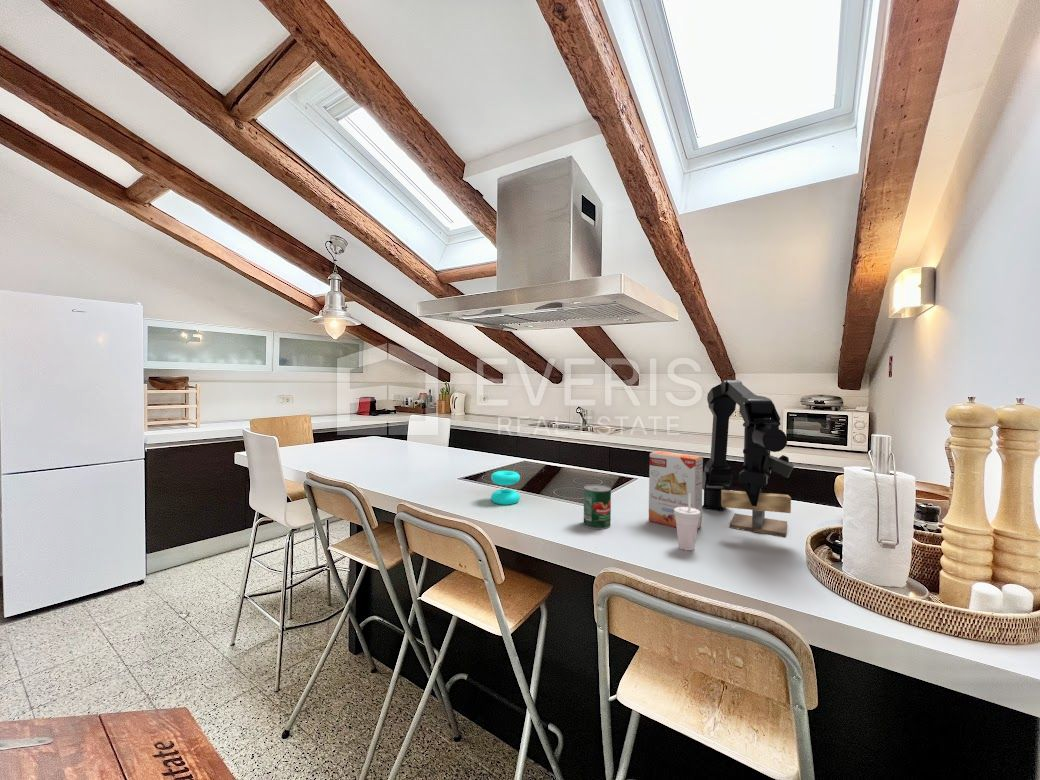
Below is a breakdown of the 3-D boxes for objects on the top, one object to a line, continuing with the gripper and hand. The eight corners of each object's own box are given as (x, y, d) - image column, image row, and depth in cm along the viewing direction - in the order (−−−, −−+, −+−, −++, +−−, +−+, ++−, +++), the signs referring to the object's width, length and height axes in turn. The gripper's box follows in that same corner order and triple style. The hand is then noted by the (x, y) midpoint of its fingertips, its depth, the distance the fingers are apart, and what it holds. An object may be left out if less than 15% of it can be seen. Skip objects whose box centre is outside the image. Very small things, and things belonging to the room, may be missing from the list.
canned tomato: (590, 518, 136) (591, 483, 136) (615, 523, 131) (615, 486, 131) (578, 525, 129) (579, 488, 129) (603, 531, 125) (604, 492, 125)
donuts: (492, 469, 159) (520, 469, 159) (492, 497, 159) (519, 497, 159) (489, 476, 149) (519, 476, 149) (489, 505, 149) (519, 505, 149)
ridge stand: (729, 527, 129) (729, 506, 129) (734, 516, 139) (735, 497, 139) (785, 537, 121) (786, 515, 121) (786, 524, 131) (787, 504, 131)
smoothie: (697, 554, 109) (698, 498, 108) (670, 549, 112) (671, 494, 112) (702, 546, 114) (703, 492, 114) (676, 541, 117) (677, 488, 117)
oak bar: (722, 507, 119) (722, 492, 119) (721, 504, 122) (721, 489, 122) (790, 513, 114) (790, 497, 114) (787, 509, 117) (787, 494, 117)
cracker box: (647, 521, 134) (648, 452, 133) (656, 516, 138) (657, 449, 137) (694, 532, 124) (695, 458, 124) (702, 527, 129) (703, 455, 128)
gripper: (791, 453, 105) (789, 519, 106) (792, 443, 121) (791, 500, 121) (738, 449, 111) (737, 511, 112) (746, 440, 127) (745, 494, 127)
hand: (754, 504), depth 118 cm, fingers closed on oak bar, 3 cm apart
